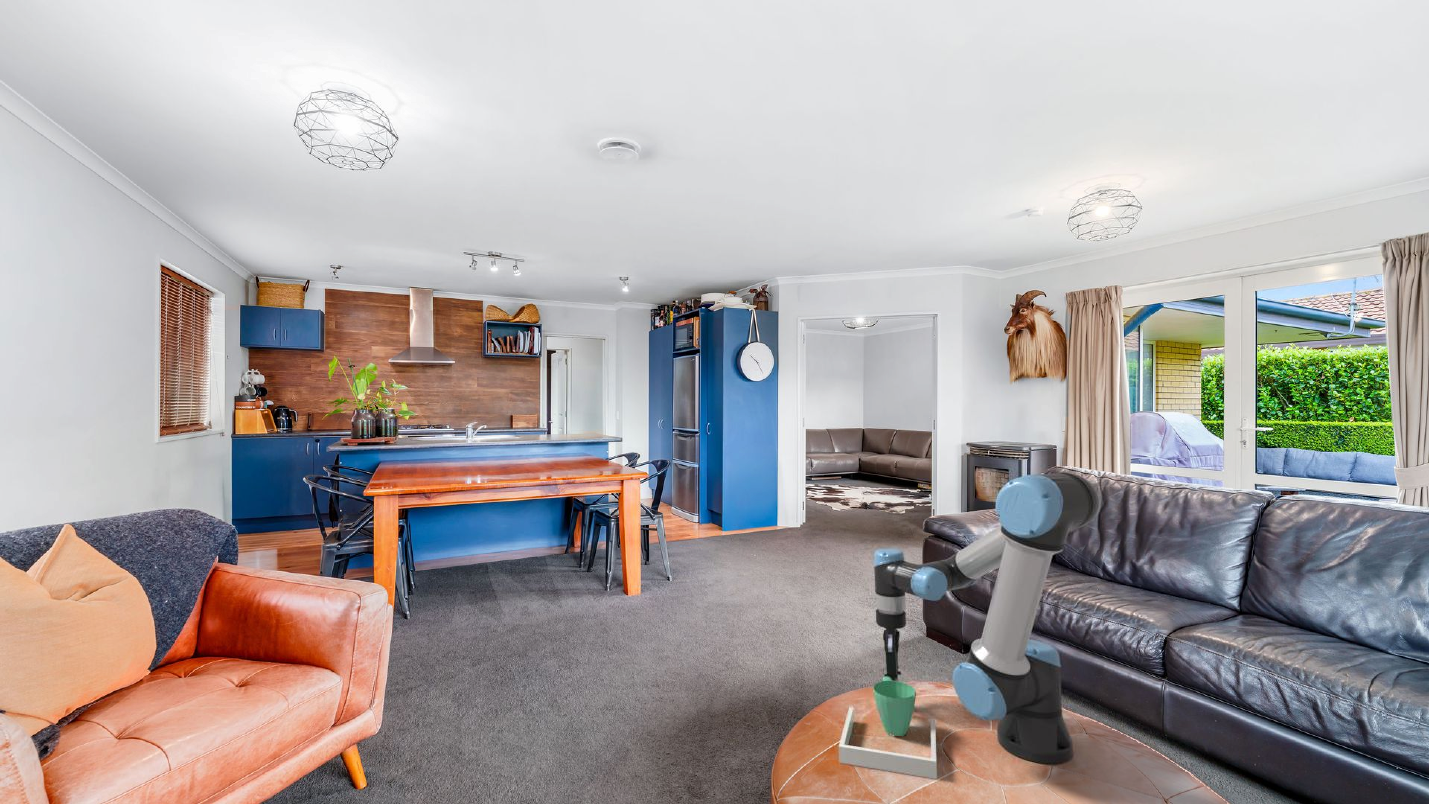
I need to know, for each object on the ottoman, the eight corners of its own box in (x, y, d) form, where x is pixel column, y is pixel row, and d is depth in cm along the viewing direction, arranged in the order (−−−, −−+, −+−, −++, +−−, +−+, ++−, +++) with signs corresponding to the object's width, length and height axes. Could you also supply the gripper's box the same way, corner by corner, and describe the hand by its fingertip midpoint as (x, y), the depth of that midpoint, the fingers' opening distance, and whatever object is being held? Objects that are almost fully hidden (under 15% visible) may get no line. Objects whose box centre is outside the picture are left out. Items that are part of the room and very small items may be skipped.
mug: (922, 742, 136) (921, 698, 137) (879, 742, 137) (878, 698, 137) (905, 712, 151) (904, 672, 151) (866, 712, 151) (865, 672, 152)
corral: (935, 733, 140) (935, 718, 140) (936, 779, 122) (936, 761, 122) (849, 721, 147) (849, 706, 147) (839, 762, 129) (838, 746, 129)
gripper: (877, 601, 162) (880, 688, 161) (873, 616, 150) (876, 710, 149) (906, 603, 159) (909, 692, 158) (904, 619, 147) (907, 715, 146)
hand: (893, 701), depth 154 cm, fingers closed
